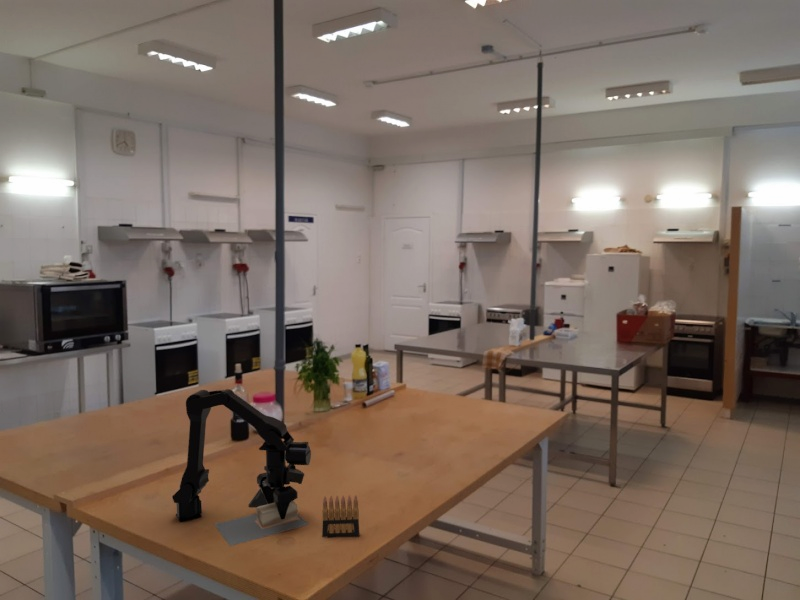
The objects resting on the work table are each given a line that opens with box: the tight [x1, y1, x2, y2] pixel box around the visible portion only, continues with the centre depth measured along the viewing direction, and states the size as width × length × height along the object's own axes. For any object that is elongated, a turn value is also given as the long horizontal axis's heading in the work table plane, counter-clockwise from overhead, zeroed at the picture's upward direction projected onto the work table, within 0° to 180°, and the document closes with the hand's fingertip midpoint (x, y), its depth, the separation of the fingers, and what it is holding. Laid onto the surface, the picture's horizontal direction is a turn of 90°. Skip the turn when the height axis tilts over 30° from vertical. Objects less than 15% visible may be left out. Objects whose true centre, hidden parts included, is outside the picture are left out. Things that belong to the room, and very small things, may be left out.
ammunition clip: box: [321, 494, 360, 539], centre depth 175 cm, size 11×2×12 cm, turn 93°
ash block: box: [256, 500, 298, 527], centre depth 185 cm, size 5×11×4 cm, turn 123°
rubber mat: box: [213, 513, 310, 547], centre depth 182 cm, size 24×16×1 cm, turn 123°
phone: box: [248, 488, 268, 508], centre depth 202 cm, size 8×1×15 cm
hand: (277, 513), depth 185 cm, fingers open, 9 cm apart
